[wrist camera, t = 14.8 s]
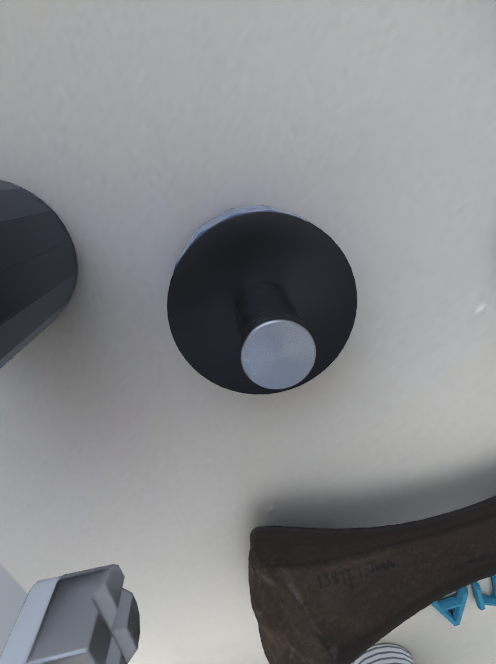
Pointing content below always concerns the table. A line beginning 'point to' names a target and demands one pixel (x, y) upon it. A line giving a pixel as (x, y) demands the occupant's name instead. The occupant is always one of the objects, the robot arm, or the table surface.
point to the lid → (262, 302)
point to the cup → (385, 655)
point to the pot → (31, 268)
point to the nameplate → (460, 599)
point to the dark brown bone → (360, 580)
